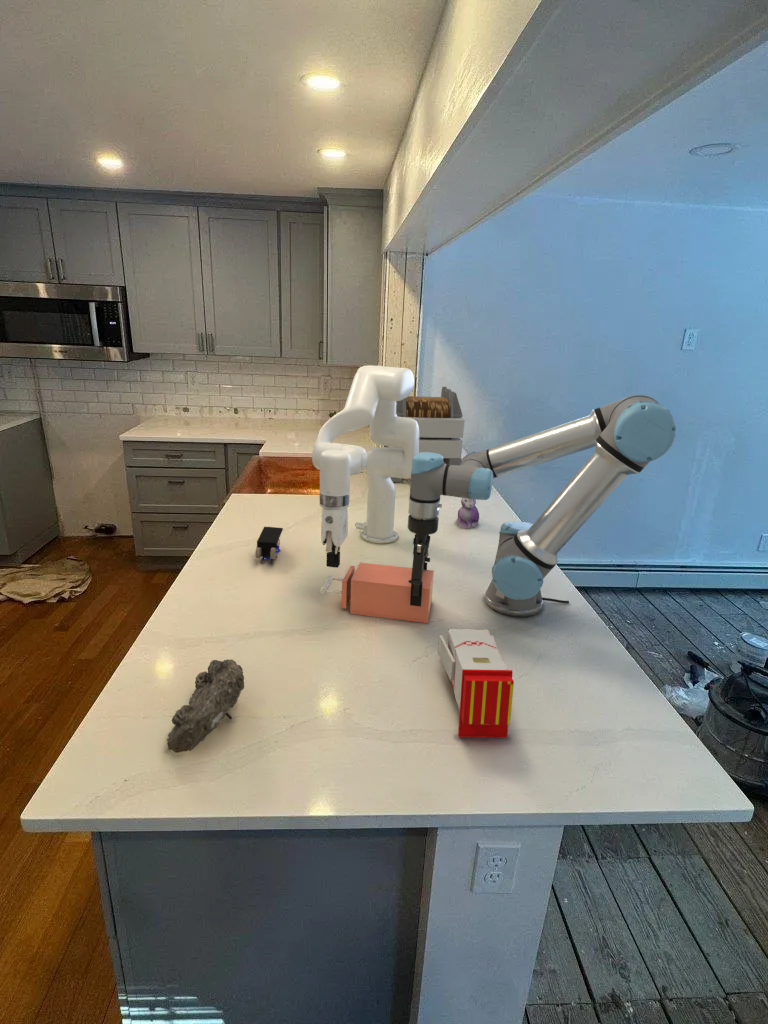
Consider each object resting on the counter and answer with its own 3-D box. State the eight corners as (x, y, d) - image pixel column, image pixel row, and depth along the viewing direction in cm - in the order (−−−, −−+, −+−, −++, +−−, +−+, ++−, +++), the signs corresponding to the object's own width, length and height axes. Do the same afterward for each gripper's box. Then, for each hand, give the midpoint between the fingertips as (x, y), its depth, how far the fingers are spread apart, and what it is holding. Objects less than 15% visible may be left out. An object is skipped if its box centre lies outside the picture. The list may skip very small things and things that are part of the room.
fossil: (192, 660, 117) (244, 628, 112) (224, 691, 120) (276, 661, 115) (142, 746, 98) (202, 712, 93) (182, 779, 101) (242, 748, 96)
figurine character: (277, 570, 171) (284, 545, 185) (276, 548, 168) (283, 525, 181) (254, 569, 171) (263, 545, 184) (253, 548, 168) (262, 524, 181)
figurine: (465, 530, 205) (468, 491, 200) (449, 521, 213) (452, 483, 208) (486, 527, 209) (490, 488, 204) (469, 518, 218) (473, 480, 213)
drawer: (319, 605, 148) (319, 578, 146) (328, 588, 157) (328, 562, 154) (413, 617, 145) (415, 589, 142) (417, 599, 153) (419, 573, 151)
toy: (488, 613, 130) (523, 677, 101) (484, 667, 133) (517, 744, 104) (435, 612, 130) (455, 676, 101) (432, 666, 133) (451, 743, 103)
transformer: (382, 463, 289) (386, 382, 275) (445, 464, 293) (451, 384, 279) (390, 482, 257) (394, 392, 243) (460, 483, 261) (468, 394, 247)
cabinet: (350, 613, 147) (351, 579, 143) (359, 594, 157) (359, 562, 153) (427, 623, 144) (430, 588, 140) (431, 603, 154) (433, 570, 150)
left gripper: (341, 510, 135) (340, 579, 141) (355, 492, 149) (353, 556, 155) (311, 506, 136) (311, 576, 142) (327, 489, 150) (326, 553, 156)
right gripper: (434, 534, 129) (428, 618, 136) (442, 502, 150) (436, 576, 158) (401, 530, 130) (397, 614, 137) (414, 499, 151) (409, 573, 159)
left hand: (333, 565), depth 149 cm, fingers closed
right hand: (418, 594), depth 148 cm, fingers closed on cabinet, 11 cm apart
